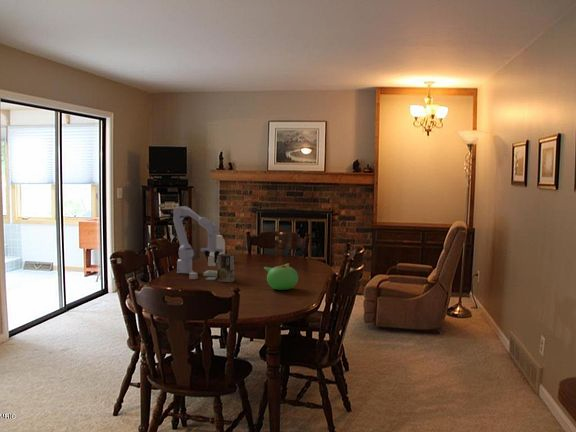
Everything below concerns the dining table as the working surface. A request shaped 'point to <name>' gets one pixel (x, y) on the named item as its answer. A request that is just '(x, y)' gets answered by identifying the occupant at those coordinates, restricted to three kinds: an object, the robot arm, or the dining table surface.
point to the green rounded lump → (281, 277)
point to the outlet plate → (210, 273)
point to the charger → (211, 261)
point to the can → (219, 245)
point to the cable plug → (193, 275)
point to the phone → (211, 278)
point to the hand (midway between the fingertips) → (211, 262)
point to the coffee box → (225, 268)
